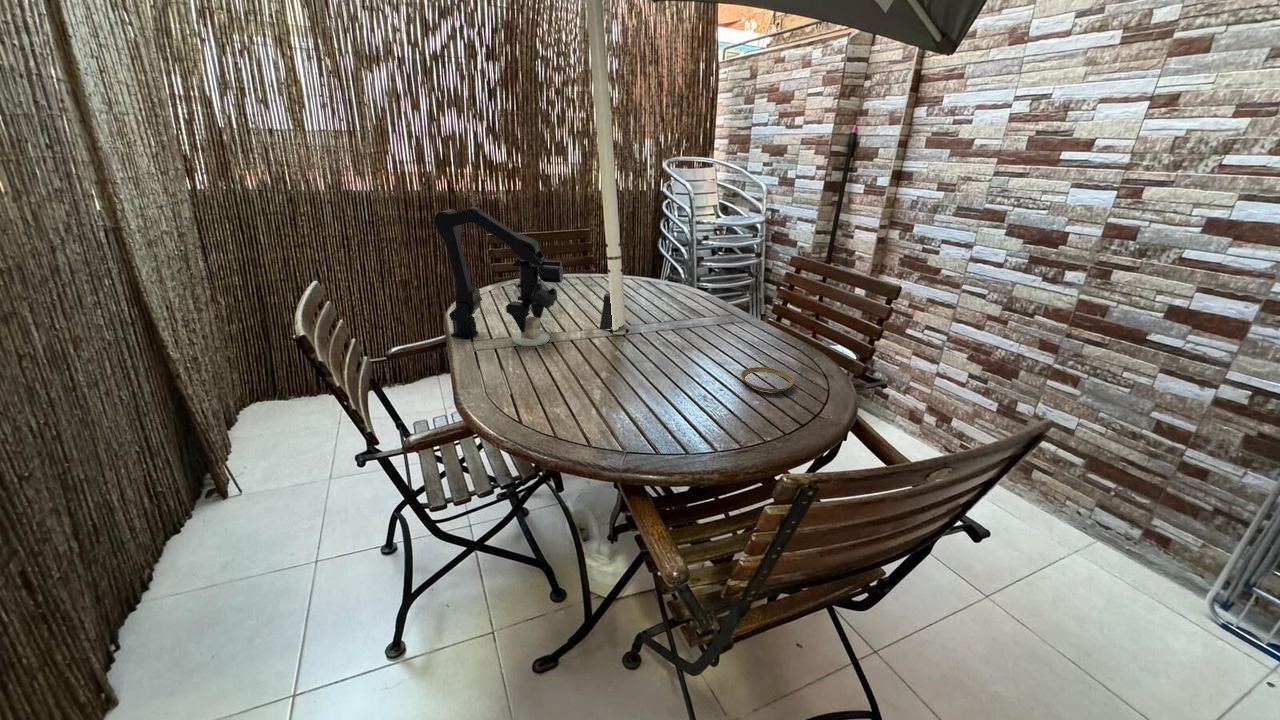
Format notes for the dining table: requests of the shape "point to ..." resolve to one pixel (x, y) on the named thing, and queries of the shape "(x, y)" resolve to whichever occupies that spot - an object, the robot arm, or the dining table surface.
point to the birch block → (531, 328)
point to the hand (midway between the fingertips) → (530, 327)
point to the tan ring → (768, 370)
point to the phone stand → (606, 313)
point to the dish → (529, 342)
